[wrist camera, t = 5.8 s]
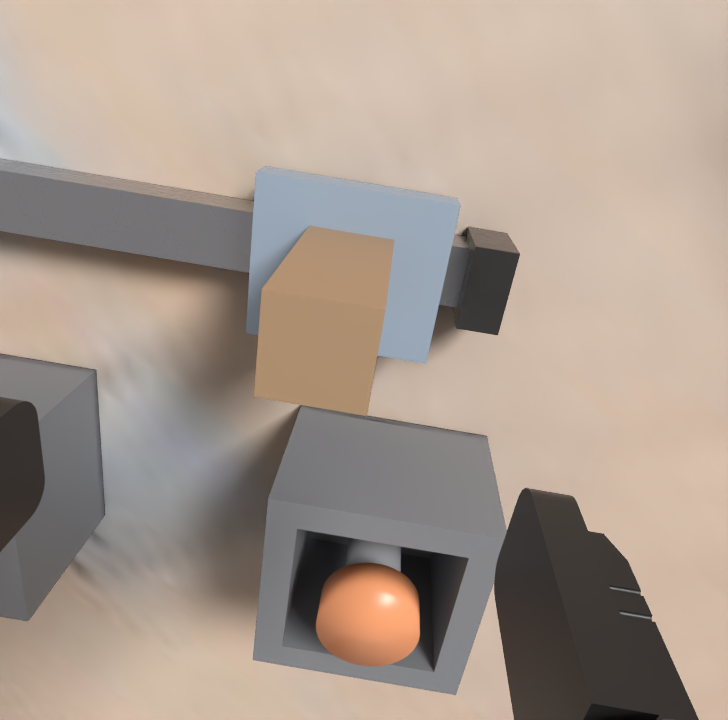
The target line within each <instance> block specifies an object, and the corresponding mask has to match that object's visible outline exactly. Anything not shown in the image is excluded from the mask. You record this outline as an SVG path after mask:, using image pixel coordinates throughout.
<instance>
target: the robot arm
mask: <svg viewBox="0 0 728 720" xmlns="http://www.w3.org/2000/svg"><path fill="white" fill-rule="evenodd" d="M44 486H45V473H44V464H43V456H42V447H41V439H40V430H39V422H38V414H37V410H36V408H35V406H34V405H33V404H32V403H31V402H28V401H23V400H17V399H11V398H5V397H0V552H1V551H2V550H3V548H4V547H5V546H6V545H7V544H8V543H9V542H10V541H11V539H12V538H13V537H14V536H15V535H16V534H17V533H18V531H19V530H20V529H21V528H22V527H23V526H24V525H25V523H26V522H27V521H28V520H29V519H30V518H31V517H32V515H33V514H34V512H35V511H36V509H37V507H38V505H39V503H40V501H41V498H42V495H43V491H44ZM494 592H495V601H496V607H497V614H498V620H499V626H500V633H501V639H502V645H503V652H504V658H505V664H506V671H507V677H508V683H509V690H510V696H511V702H512V709H513V715H514V720H699V719H698V717H697V715H696V712H695V710H694V708H693V706H692V703H691V701H690V699H689V697H688V695H687V692H686V690H685V688H684V686H683V683H682V681H681V679H680V677H679V674H678V672H677V670H676V668H675V666H674V663H673V661H672V659H671V657H670V654H669V652H668V650H667V648H666V645H665V643H664V641H663V639H662V636H661V634H660V632H659V630H658V628H657V625H656V623H655V622H652V614H651V612H650V610H649V607H648V605H647V603H646V601H645V599H644V596H641V595H640V592H641V590H640V587H639V585H638V583H637V581H636V578H635V576H634V574H633V572H632V569H631V567H630V565H629V563H628V561H627V560H626V558H625V557H624V556H623V555H622V554H621V553H620V552H619V551H618V550H617V548H616V547H615V546H614V545H613V544H612V543H611V542H610V541H609V540H608V538H607V537H606V536H605V535H604V534H601V533H595V532H590V531H588V530H587V527H586V525H585V522H584V520H583V517H582V514H581V512H580V509H579V507H578V504H577V502H576V500H575V498H574V497H572V496H570V495H564V494H558V493H552V492H546V491H540V490H535V489H529V488H525V489H523V490H522V492H521V493H520V495H519V498H518V500H517V503H516V506H515V509H514V512H513V515H512V518H511V521H510V524H509V527H508V530H507V533H506V536H505V538H504V541H503V544H502V547H501V550H500V553H499V556H498V560H497V564H496V570H495V581H494Z"/></svg>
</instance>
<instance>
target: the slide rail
mask: <svg viewBox="0 0 728 720" xmlns="http://www.w3.org/2000/svg"><path fill="white" fill-rule="evenodd" d="M253 208H254V201H251V200H245V199H239V198H233V197H227V196H221V195H215V194H209V193H203V192H197V191H191V190H185V189H179V188H173V187H167V186H161V185H155V184H149V183H143V182H137V181H131V180H125V179H119V178H113V177H107V176H101V175H95V174H89V173H83V172H77V171H71V170H65V169H59V168H53V167H47V166H41V165H35V164H30V163H24V162H18V161H12V160H6V159H0V231H3V232H9V233H15V234H21V235H27V236H33V237H38V238H44V239H50V240H56V241H62V242H68V243H74V244H80V245H86V246H92V247H98V248H104V249H110V250H116V251H122V252H128V253H134V254H140V255H146V256H152V257H158V258H164V259H170V260H175V261H181V262H187V263H193V264H199V265H205V266H211V267H217V268H223V269H229V270H235V271H241V272H247V273H249V271H250V255H251V239H252V224H253ZM519 256H520V253H519V251H518V250H517V248H516V247H515V245H514V243H513V242H512V240H511V239H510V237H509V236H508V234H507V233H503V232H497V231H491V230H485V229H479V228H473V227H468V229H467V234H466V236H461V235H455V234H454V238H453V243H452V248H451V252H450V257H449V261H448V266H447V270H446V275H445V280H444V284H443V289H442V293H441V298H440V302H439V305H444V306H449V307H453V313H454V318H455V324H456V328H457V329H463V330H469V331H475V332H481V333H487V334H493V335H498V333H499V329H500V325H501V322H502V318H503V314H504V311H505V307H506V303H507V300H508V296H509V292H510V289H511V285H512V281H513V278H514V274H515V270H516V267H517V263H518V259H519Z"/></svg>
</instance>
